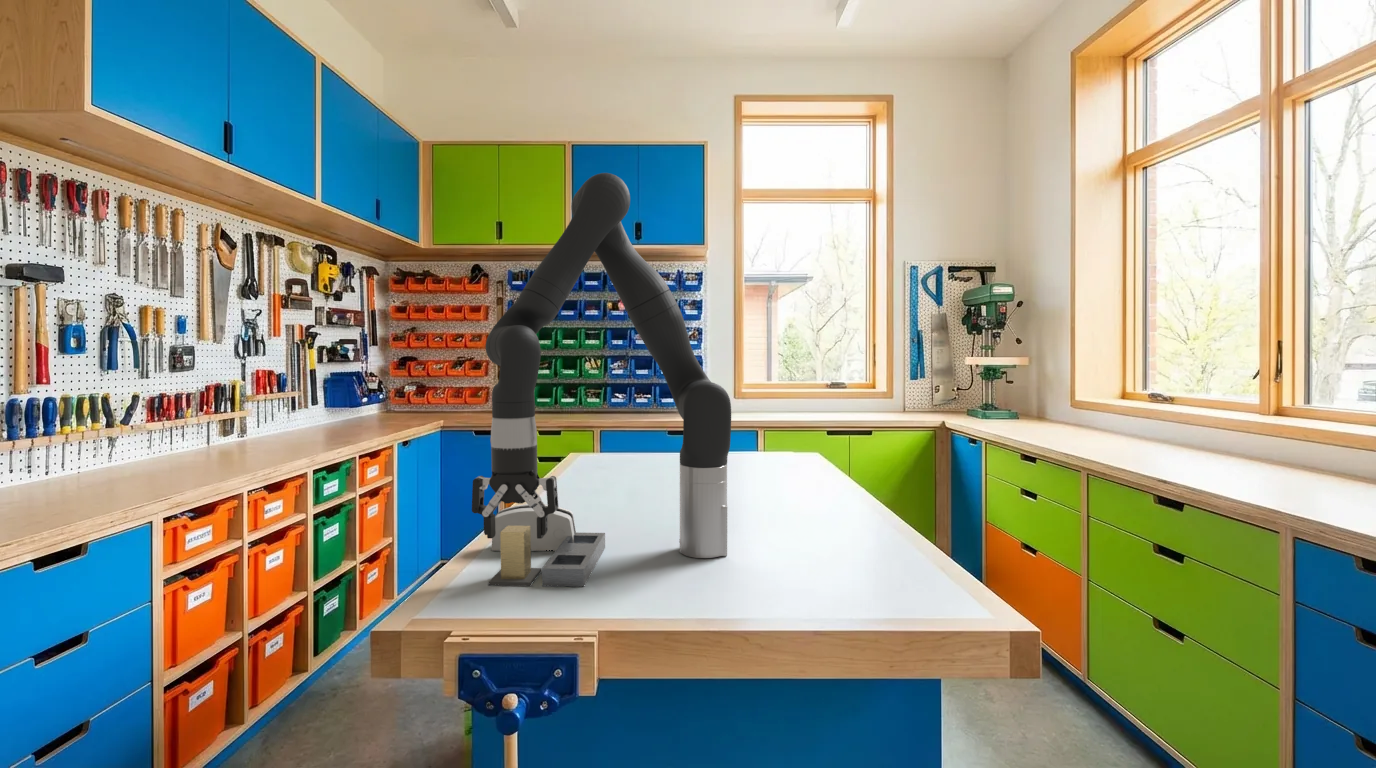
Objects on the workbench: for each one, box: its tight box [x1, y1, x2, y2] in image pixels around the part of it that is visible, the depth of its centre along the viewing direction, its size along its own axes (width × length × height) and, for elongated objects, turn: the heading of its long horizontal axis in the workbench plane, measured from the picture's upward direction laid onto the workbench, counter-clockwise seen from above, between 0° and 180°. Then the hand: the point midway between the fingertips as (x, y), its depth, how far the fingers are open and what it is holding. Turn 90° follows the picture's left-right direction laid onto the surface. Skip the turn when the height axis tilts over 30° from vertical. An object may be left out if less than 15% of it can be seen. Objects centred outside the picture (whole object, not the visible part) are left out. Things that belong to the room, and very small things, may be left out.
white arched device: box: [490, 503, 577, 552], centre depth 126 cm, size 17×5×10 cm, turn 92°
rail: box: [541, 532, 606, 588], centre depth 116 cm, size 7×21×3 cm, turn 178°
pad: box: [488, 567, 542, 587], centre depth 109 cm, size 7×7×1 cm
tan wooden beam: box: [500, 526, 532, 579], centre depth 109 cm, size 4×4×8 cm
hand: (515, 537), depth 109 cm, fingers open, 8 cm apart
